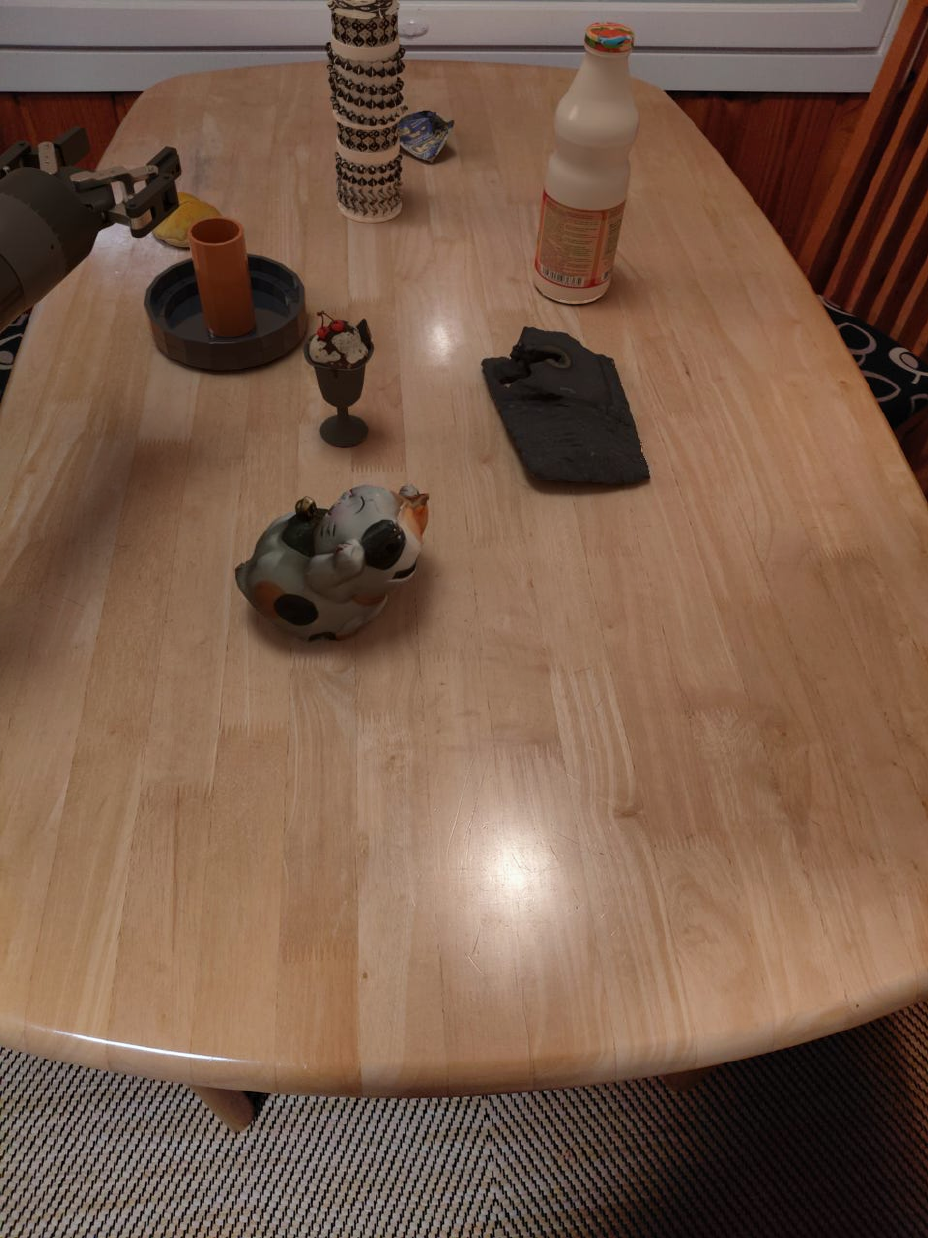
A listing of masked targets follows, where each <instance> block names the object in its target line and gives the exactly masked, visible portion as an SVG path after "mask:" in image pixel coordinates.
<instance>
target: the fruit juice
mask: <svg viewBox="0 0 928 1238" xmlns="http://www.w3.org/2000/svg"><path fill="white" fill-rule="evenodd" d="M583 41H584V44H583V46H584V47H583V48H584V50H585V53H584V56H583V59H582V61H581V63H580V66H579V68H578V70H577V73H576V75H575V77H574V78H573V81H572V83H571V86H570V87H569V89H568V90H567V91H566V93H565V94H563V96H562V98H561V99H560V100H559V102H558V104H557V105H556V108H555V110H554V111H555V112H554V115H553V119H552V134H553V142H554V147H553V150H552V151H551V153H550V155H549V157H548V160H547V163H546V167H545V168H546V169H545V174H544V181H543V191H542V199H541V208H540V215H539V224H538V230H537V240H536V247H535V258H534V262H533V263H534V264H533V274H532V275H533V283H534V286H535V285H536V286H535V288H536V287H537V288H538V289H539V290H540V291H541V292H542V293H544V294H545V295H547V296H550V297H553V298H555V299H558V300H560V299H561V300H566V301H584V300H589V299H593V298H595V297H597V296H599V295H602V294H603V293H604V292H605V291H606V290H607V291H608V289H609V286H610V283H611V280H612V274H613V269H614V263H615V259H616V254H617V248H618V244H619V238H620V233H621V228H622V223H623V217H624V212H625V207H626V203H627V199H628V195H629V194H628V193H629V188H630V180H631V162H630V154H631V152H632V149H633V147H634V145H635V143H636V140H637V138H638V134H639V129H640V114H639V110H638V107H637V105H636V102H635V99H634V98H635V97H634V95H633V89H632V81H631V73H630V66H629V56H630V55H631V54H632V52H633V48H634V45H635V31H633V30H632V28H630V27H629V26H626V25H624V24H621V23H616V22H612V21H611V22H609V21H601V22H595V23H592V24H590V25H588V26H587V28H586V30H585V33H584V39H583ZM537 288H536V289H537ZM607 288H608V289H607ZM538 289H537V290H538ZM607 291H606V292H607Z"/></svg>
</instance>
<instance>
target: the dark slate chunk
mask: <svg viewBox="0 0 928 1238" xmlns="http://www.w3.org/2000/svg"><path fill="white" fill-rule="evenodd" d="M509 357H510V358H509ZM509 357H507V356H498V357H496V356H495V357H485V358H483V359H482V361H481V363H480V366H481V367H482V373H483V375H484V376H485V380H486V382H487V384H488V385H487V386H488V387H489V389H490V393H491V397H492V398H493V399H494V402H495V405H496V407H497V408H498V412H499V413H500V416H501V417H502V418H503V421H504V425H505V427H506V429H507V431H508V432H509V434H510V435H511V436H512V441H513V442H514V444H515V446H516V447H517V450H518V452H519V453H520V455H521V460H522V463H523V465H524V467H525V468H526V469H527V471H528V472H529V473H530V475H531V476H532V477H533V478H534V479H535V480H539V481H541V480H546V481H561V482H575V483H577V482H582V483H583V482H595V483H598V484H603V485H604V484H605V485H612V484H627V485H631V484H633V483H637V482H638V483H639V482H641V481H642V480H644V479H647V478H648V479H651V473H650V474H649V472H650V469H649V464H648V465H647V463H648V461H647V459H646V457H645V455H644V454H643V453H642V452H641V447H642V448H643V446H642V441H641V439H640V436H639V437H638V435H639V432H638V429H637V424H636V421H635V418H633V417H634V415H633V413H632V411H631V406H630V402H629V401H628V398H627V397H626V392H625V389H624V386H623V384H622V381H621V379H620V375H619V372H617V371H618V369H617V368H615V367H616V364H615V359H614V358H613V357H610V356H607V355H606V354H603V353H595V352H593V351H591V350H590V349H589V348H587V347H585V346H583V345H582V344H581V342H580V340H578V339H577V338H574V336H572V335H570V334H569V333H568V332H564V331H557V330H552V331H551V330H544V329H539V328H537V327H534V326H530V327H529V326H526V325H525V326H523V327H522V329H521V333H520V335H519V339H518V340H517V342H516V344H515V345H513V346H512V348H511V351H510V354H509ZM514 381H516V382H514ZM620 381H621V382H620ZM503 383H504V384H503ZM506 383H510V384H509V386H508V385H505V384H506ZM621 384H622V385H621ZM640 441H641V442H640ZM640 443H641V445H640ZM643 455H644V456H643ZM644 457H645V458H644ZM645 459H646V460H645ZM646 461H647V462H646Z"/></svg>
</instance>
